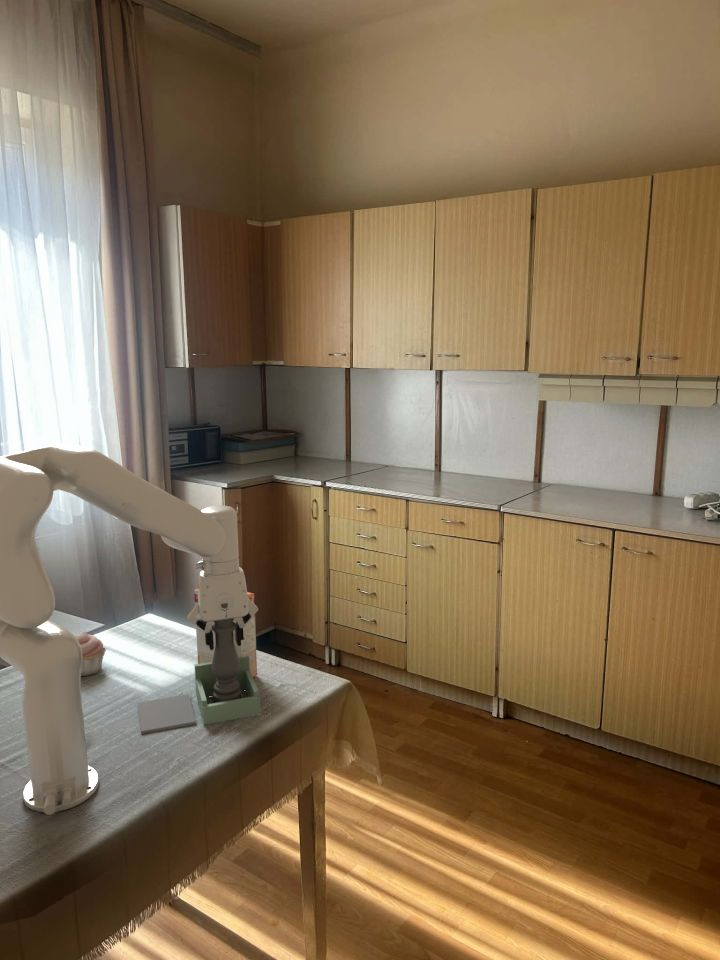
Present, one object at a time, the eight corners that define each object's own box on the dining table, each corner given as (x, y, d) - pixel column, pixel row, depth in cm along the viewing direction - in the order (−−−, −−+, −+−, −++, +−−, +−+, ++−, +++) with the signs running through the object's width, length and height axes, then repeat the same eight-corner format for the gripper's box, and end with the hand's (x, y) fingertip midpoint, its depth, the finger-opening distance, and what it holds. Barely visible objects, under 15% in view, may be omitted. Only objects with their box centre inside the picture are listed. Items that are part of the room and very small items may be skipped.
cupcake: (116, 668, 177) (113, 629, 175) (82, 683, 170) (78, 643, 167) (92, 657, 182) (89, 620, 180) (58, 672, 175) (54, 633, 173)
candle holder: (247, 705, 160) (243, 598, 154) (224, 716, 155) (219, 606, 150) (230, 695, 164) (225, 590, 158) (207, 706, 160) (201, 598, 154)
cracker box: (258, 675, 173) (255, 592, 168) (241, 686, 168) (237, 601, 164) (214, 661, 180) (210, 581, 176) (197, 670, 175) (192, 588, 171)
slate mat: (195, 724, 153) (195, 721, 153) (141, 734, 149) (140, 731, 149) (189, 696, 164) (188, 694, 164) (137, 705, 160) (137, 702, 160)
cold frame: (260, 714, 156) (259, 680, 154) (203, 725, 152) (201, 690, 150) (249, 688, 167) (248, 656, 165) (196, 697, 163) (194, 664, 162)
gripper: (181, 575, 146) (186, 659, 150) (265, 565, 152) (267, 646, 156) (177, 564, 153) (182, 644, 157) (257, 555, 159) (260, 632, 163)
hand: (224, 644), depth 157 cm, fingers closed on candle holder, 5 cm apart
